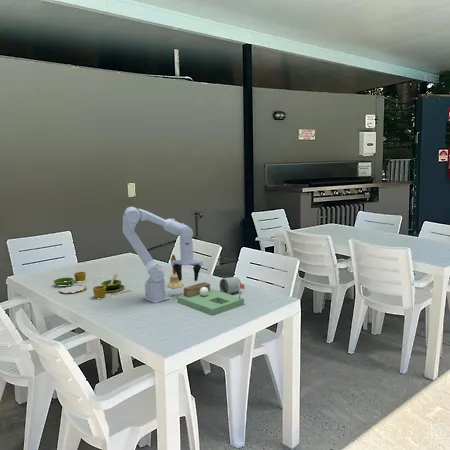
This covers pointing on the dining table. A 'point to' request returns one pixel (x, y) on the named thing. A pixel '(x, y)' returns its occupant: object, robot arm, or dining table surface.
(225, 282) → the ceramic mug
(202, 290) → the golf ball
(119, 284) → the tableware set
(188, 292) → the block
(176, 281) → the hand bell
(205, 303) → the putting deck
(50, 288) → the dining table surface
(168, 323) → the dining table surface
